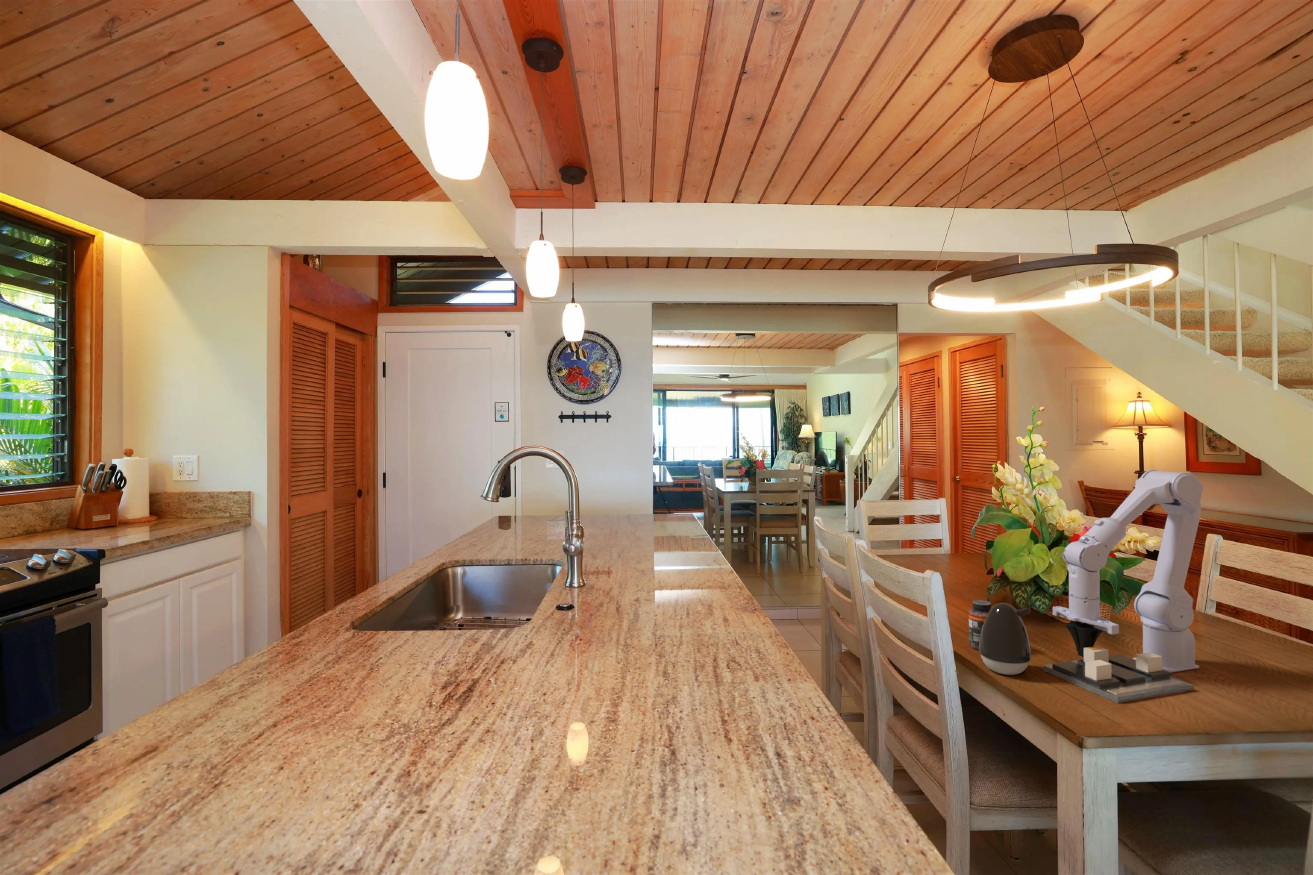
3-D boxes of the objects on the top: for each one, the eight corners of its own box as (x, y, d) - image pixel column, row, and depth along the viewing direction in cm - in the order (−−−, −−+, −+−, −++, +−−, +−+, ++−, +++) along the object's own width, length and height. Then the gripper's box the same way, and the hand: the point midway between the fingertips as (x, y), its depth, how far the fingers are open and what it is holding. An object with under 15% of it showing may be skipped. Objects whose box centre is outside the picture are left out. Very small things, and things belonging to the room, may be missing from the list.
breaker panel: (1112, 660, 143) (1112, 650, 143) (1192, 690, 127) (1192, 679, 127) (1043, 670, 138) (1043, 660, 138) (1117, 703, 122) (1117, 692, 121)
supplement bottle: (996, 645, 154) (996, 600, 153) (996, 653, 148) (996, 606, 148) (969, 641, 156) (969, 597, 156) (968, 649, 151) (968, 603, 151)
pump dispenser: (1039, 681, 132) (1039, 611, 132) (987, 678, 134) (986, 609, 134) (1021, 663, 142) (1021, 597, 142) (973, 660, 144) (972, 596, 144)
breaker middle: (1097, 659, 138) (1097, 644, 138) (1108, 663, 136) (1108, 648, 136) (1083, 661, 137) (1083, 646, 137) (1094, 665, 135) (1094, 650, 135)
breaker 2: (1150, 665, 134) (1150, 652, 134) (1162, 670, 131) (1162, 656, 131) (1136, 668, 133) (1136, 654, 133) (1147, 672, 130) (1147, 658, 130)
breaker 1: (1099, 673, 130) (1099, 659, 130) (1111, 678, 128) (1111, 663, 128) (1085, 675, 129) (1085, 661, 129) (1096, 680, 127) (1096, 666, 127)
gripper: (1042, 589, 145) (1042, 646, 145) (1100, 606, 131) (1101, 669, 131) (1066, 586, 147) (1066, 643, 147) (1126, 603, 133) (1126, 666, 133)
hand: (1084, 655), depth 139 cm, fingers closed
